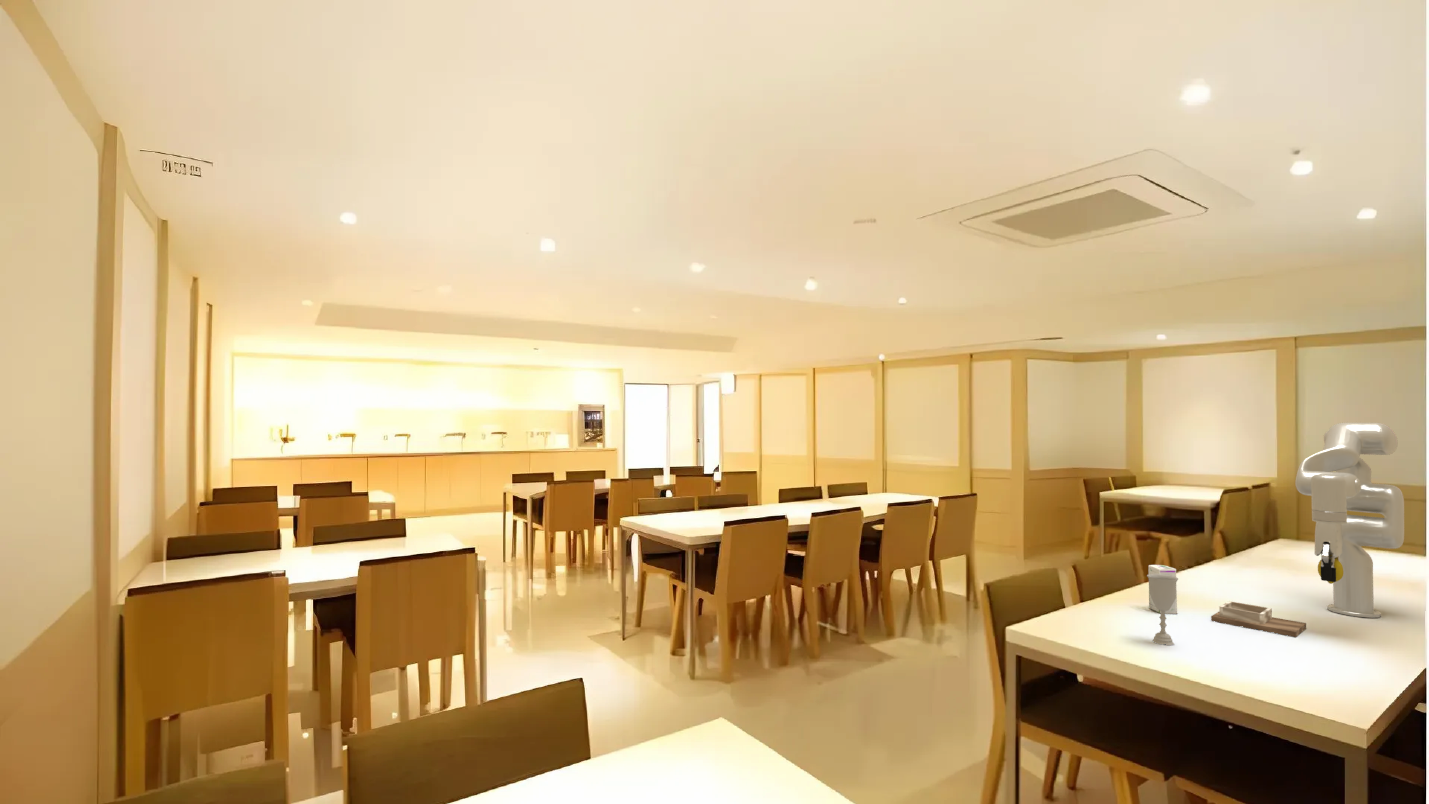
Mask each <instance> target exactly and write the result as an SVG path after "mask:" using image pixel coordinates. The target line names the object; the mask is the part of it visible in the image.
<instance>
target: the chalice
mask: <svg viewBox="0 0 1429 804" xmlns="http://www.w3.org/2000/svg"><path fill="white" fill-rule="evenodd" d="M1146 577H1147V578H1148V594H1149V593H1150V596H1151V598H1152V601H1153V602H1154V604H1155V606H1156V608H1157V609H1158V610H1160V611H1161V613H1160V616H1159V619H1160V622H1159V624H1158V625H1159V627H1160V630H1159V632H1156V633H1155V634H1154V636H1153V639H1152V640H1151V641H1152V642H1153V641H1154V642H1153V643H1155V642H1156V643H1155V644H1157V643H1158V645H1162V644H1166V645H1165V646H1173V645H1172V644H1174V645H1175V643H1174V641H1173V639H1172V636H1171V635H1170V634H1169V633H1167V631H1166V627H1167V623H1166V620H1167V617H1166V614H1165V611H1168V610H1169V609H1170V608H1171V606H1172V604H1173V603H1174V601H1175V598H1176V590H1177V582H1178V580H1179V578H1178V577H1177V576H1176V577H1173V576H1168V575H1160V574H1149V573H1148V574H1147V575H1146Z"/></svg>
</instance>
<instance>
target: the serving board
mask: <svg viewBox="0 0 1429 804" xmlns="http://www.w3.org/2000/svg"><path fill="white" fill-rule="evenodd" d="M1218 607H1219V611H1217V612H1216V613H1214V614H1212V615H1211V616H1210V619H1211V620H1210V622H1214V621H1215V623H1220V624H1225V623H1226V624H1225V625H1230V626H1236V627H1240V626H1243V627H1242V628H1245V627H1246V629H1250V628H1251V629H1250V630H1255V629H1258V630H1257V631H1260V630H1263V631H1262V632H1266V631H1267V633H1271V632H1274V633H1273V634H1276V633H1278V634H1277V635H1282V636H1286V635H1288V636H1287V637H1293V638H1297V637H1298V636H1299V635H1300V634H1302V633H1303V632H1304V631H1305V630H1306V629H1307V623H1306V622H1300V621H1296V620H1291V619H1286V618H1285V619H1283V618H1279V617H1274V616H1273V615H1272V614H1273V608H1271V607H1265V606H1260V605H1253V604H1250V603H1249V604H1248V603H1243V602H1237V601H1233V600H1232V601H1230V600H1229V601H1227V602H1225V603H1223V604H1221V605H1220V606H1218Z"/></svg>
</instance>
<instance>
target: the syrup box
mask: <svg viewBox="0 0 1429 804" xmlns="http://www.w3.org/2000/svg"><path fill="white" fill-rule="evenodd" d="M1149 574H1160V575H1168V576H1173V577H1177V569H1176V568H1174V567H1172V566H1168V565H1166V564H1165V565H1164V564H1149V565H1148V575H1149ZM1177 592H1178V591H1177V589H1176V598H1175V601H1174V603H1173V604H1172V606H1171V608H1170V609H1169V610H1168V611H1165V615H1177V614H1178V602H1177V601H1178V600H1177V597H1178V596H1177V595H1178V593H1177ZM1148 600H1149V601H1148V606H1149V607H1148V609H1149V610H1151V611H1153V612H1155V613H1158V614H1161V611H1160V610H1158V609H1157V608H1156V606H1155V604H1154V602H1153V601H1152V598H1151V596H1150V593H1149V592H1148Z"/></svg>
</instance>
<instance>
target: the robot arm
mask: <svg viewBox="0 0 1429 804" xmlns="http://www.w3.org/2000/svg"><path fill="white" fill-rule="evenodd" d="M1323 441H1324V445H1323V449H1322V450H1319V451H1318V452H1316V453H1313V454H1311V455H1310V456H1307V457H1306V458H1304V459H1303V460H1302V461H1301V462H1300V464H1299V467H1298V469H1297V473H1296V476H1295V488H1296V490H1297V491H1298V492H1299V493H1300V494H1301V495H1304V496H1310V497H1311V521H1312V522H1314V523H1315V529H1314V555H1315V556H1317V557H1318V556H1320V557H1321V559H1320V560H1321V576H1320V580H1321V581H1325V582H1327V581H1330V582H1334V583H1332V585H1333V586H1332V590H1333V591H1332V593H1333V603H1332V604H1331V603H1329V604H1327V605H1326V607H1327V610H1329V611H1330V612H1334V613H1336V614H1340V615H1346V616H1351V617H1358V618H1368V619H1369V618H1370V619H1376V618H1377V619H1378V618H1381V616H1382V613H1381V612H1380V611H1379V610H1376V609H1374V607H1375V603H1374V599H1375V597H1374V561H1373V559H1372V557H1371V555H1370V554H1369V553H1368V552H1367V551H1366V550H1365V549H1364V548H1363V547H1370V548H1371V547H1372V548H1380V549H1381V548H1382V549H1400V547H1402V546H1403V544H1404V541H1405V499H1404V494H1403V492H1402V490H1401V489H1400V488H1399V487H1398V486H1396V485H1393V484H1386V483H1373V482H1372V468H1371V467H1370V465H1369V464H1368V463H1367V462H1366V461H1364V459H1362V458H1361V455H1369V456H1370V455H1374V456H1376V455H1377V456H1388V455H1389V456H1390V455H1392V454H1394V453H1395V452H1396V451H1397V448H1398V437H1397V434H1396V433H1395V431H1394V430H1393V429H1392V428H1391V427H1390V426H1388V425H1387V424H1385V423H1381V422H1340V423H1336V424H1333V425H1331V426H1330V427H1329V429H1328V430H1327V431H1325V433H1324V435H1323ZM1348 511H1349V512H1356V513H1369V514H1380V515H1382V516H1383V517H1380V516H1379V517H1378V516H1368V515H1355V514H1348ZM1331 556H1332V557H1331ZM1331 559H1332V561H1331ZM1335 559H1337V560H1338V561H1339V562H1340V563H1341V564H1342V566H1343V577H1342V578H1341V579H1340V580H1339V581H1336V568H1334V566H1335Z"/></svg>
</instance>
